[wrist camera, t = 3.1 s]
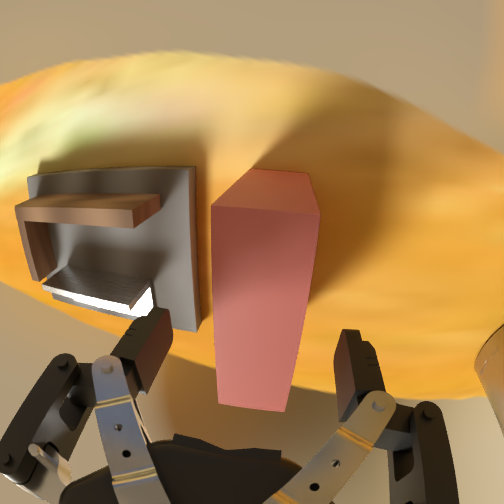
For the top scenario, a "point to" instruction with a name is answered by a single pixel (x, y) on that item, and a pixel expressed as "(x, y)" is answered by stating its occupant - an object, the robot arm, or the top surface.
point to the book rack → (118, 231)
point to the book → (261, 284)
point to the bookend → (103, 289)
